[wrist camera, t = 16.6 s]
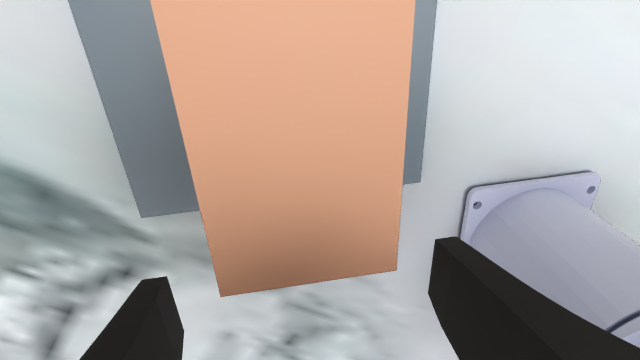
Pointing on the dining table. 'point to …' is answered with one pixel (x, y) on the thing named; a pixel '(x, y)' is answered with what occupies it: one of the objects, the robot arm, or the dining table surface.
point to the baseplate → (159, 108)
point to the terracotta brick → (292, 132)
